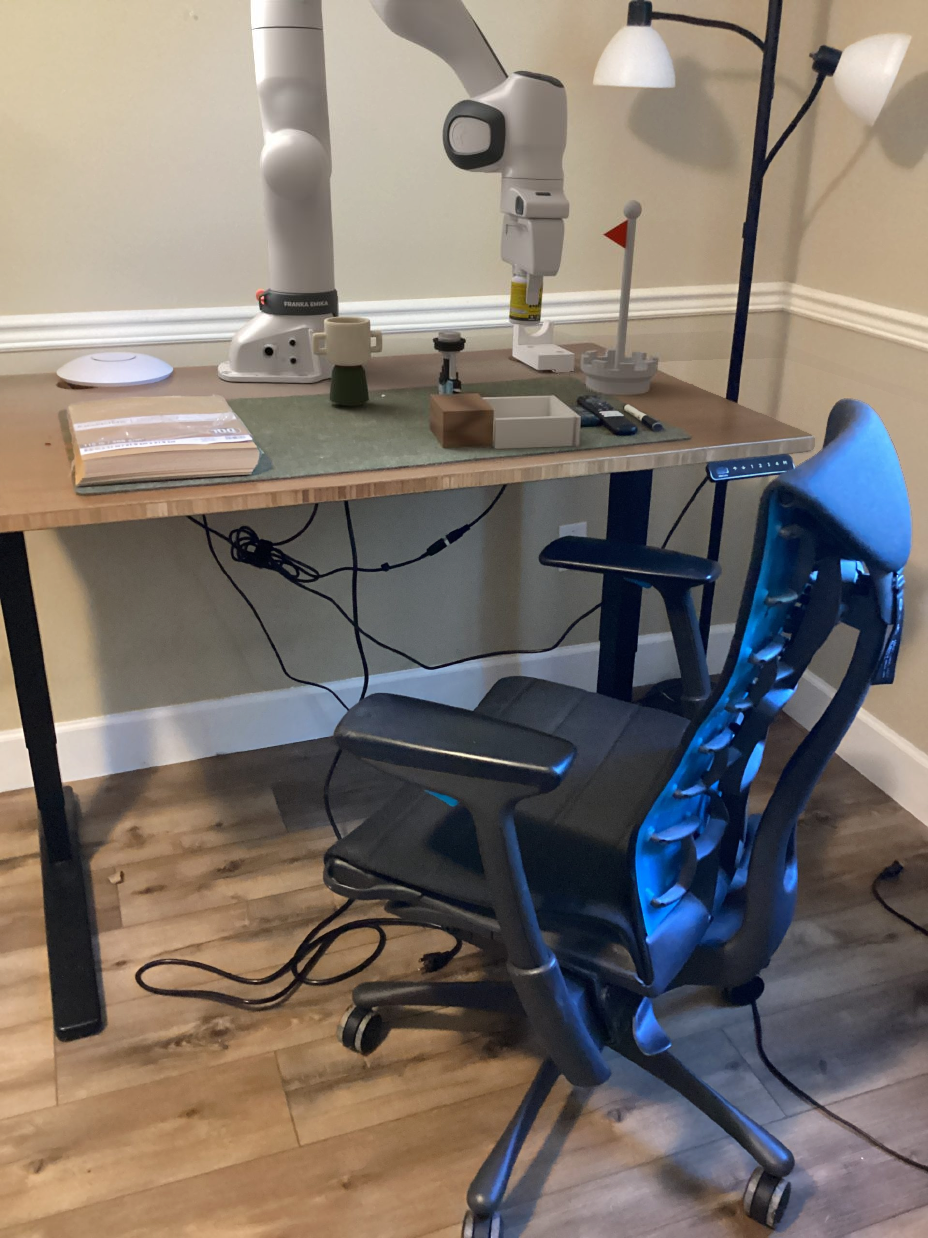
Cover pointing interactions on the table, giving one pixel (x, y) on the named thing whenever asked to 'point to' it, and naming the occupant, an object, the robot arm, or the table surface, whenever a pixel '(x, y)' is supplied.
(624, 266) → the flag stand
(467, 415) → the walnut step
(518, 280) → the supplement bottle
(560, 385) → the table surface
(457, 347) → the push button
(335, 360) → the cream and green trophy
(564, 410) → the grey tray
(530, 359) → the bracket
